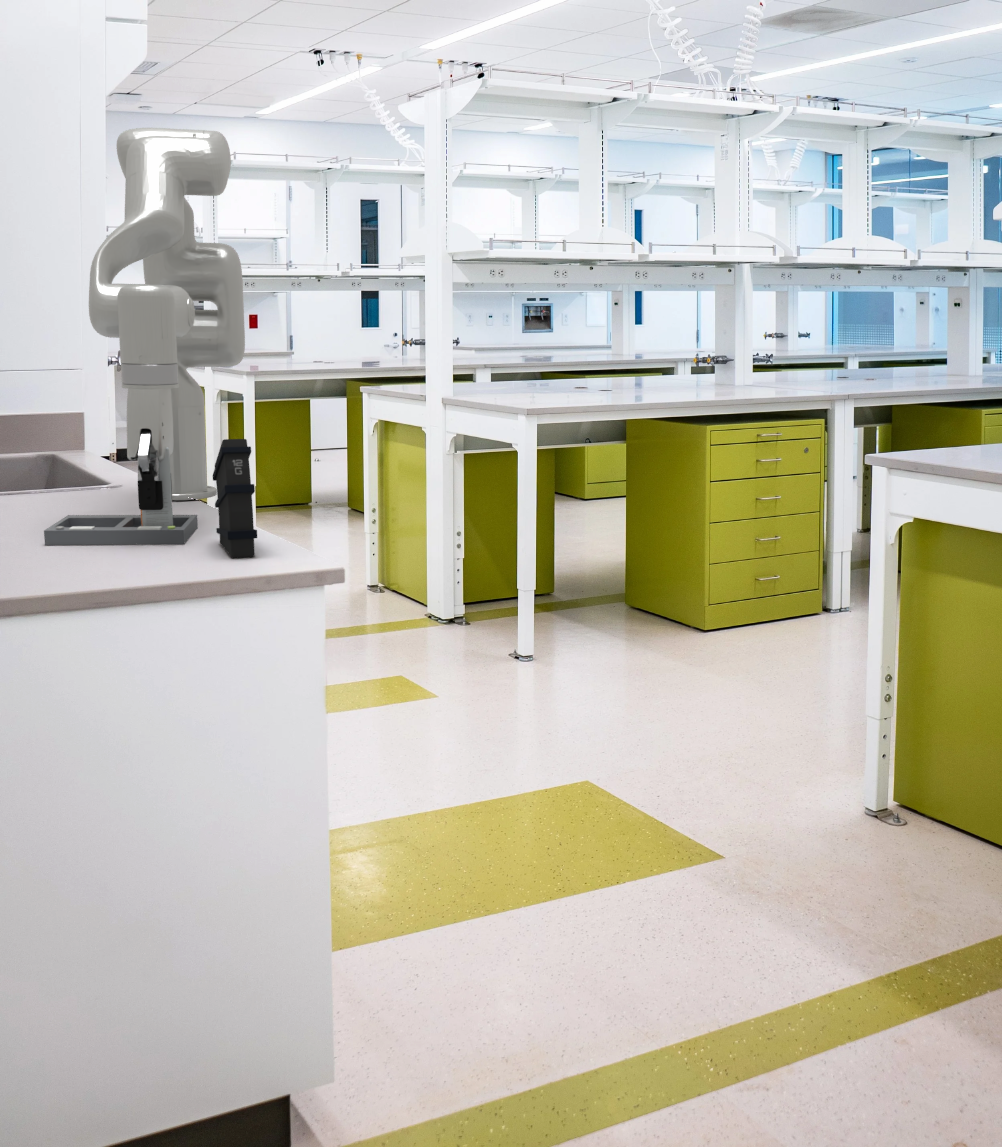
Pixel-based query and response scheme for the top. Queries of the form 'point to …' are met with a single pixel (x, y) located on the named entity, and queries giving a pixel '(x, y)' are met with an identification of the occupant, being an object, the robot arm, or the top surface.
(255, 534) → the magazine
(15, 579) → the top surface
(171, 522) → the skincare box
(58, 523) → the socket panel
